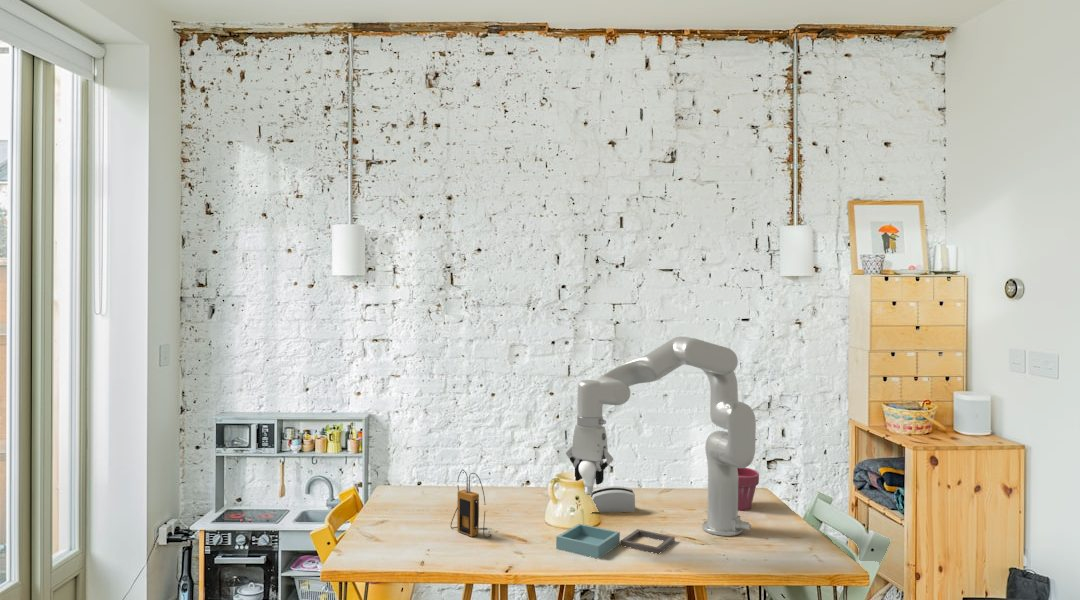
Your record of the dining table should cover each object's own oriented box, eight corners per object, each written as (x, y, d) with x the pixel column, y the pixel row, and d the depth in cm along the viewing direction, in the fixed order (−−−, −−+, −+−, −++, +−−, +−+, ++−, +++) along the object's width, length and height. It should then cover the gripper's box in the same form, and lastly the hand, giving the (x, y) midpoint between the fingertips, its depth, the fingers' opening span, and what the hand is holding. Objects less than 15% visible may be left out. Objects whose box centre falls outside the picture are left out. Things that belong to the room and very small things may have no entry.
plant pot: (766, 511, 247) (766, 475, 247) (729, 514, 244) (730, 477, 244) (745, 499, 261) (745, 465, 261) (710, 501, 258) (710, 466, 258)
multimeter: (503, 532, 224) (504, 469, 223) (480, 540, 216) (480, 475, 216) (472, 521, 234) (473, 461, 233) (449, 529, 226) (449, 466, 226)
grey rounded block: (631, 506, 252) (634, 482, 248) (635, 515, 247) (638, 491, 244) (585, 508, 249) (588, 484, 246) (588, 517, 245) (591, 492, 241)
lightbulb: (598, 498, 208) (598, 461, 208) (576, 496, 210) (577, 459, 209) (600, 492, 215) (601, 456, 214) (579, 490, 216) (580, 454, 216)
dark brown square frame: (674, 541, 217) (674, 536, 217) (658, 554, 207) (658, 549, 207) (637, 533, 224) (637, 529, 224) (620, 545, 213) (620, 540, 213)
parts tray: (619, 543, 215) (619, 532, 215) (598, 558, 203) (598, 546, 203) (579, 534, 222) (579, 523, 222) (556, 548, 210) (556, 536, 210)
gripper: (621, 423, 210) (620, 483, 211) (570, 416, 220) (570, 474, 220) (610, 427, 204) (609, 489, 204) (558, 420, 213) (557, 480, 214)
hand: (588, 481), depth 212 cm, fingers closed on lightbulb, 6 cm apart
